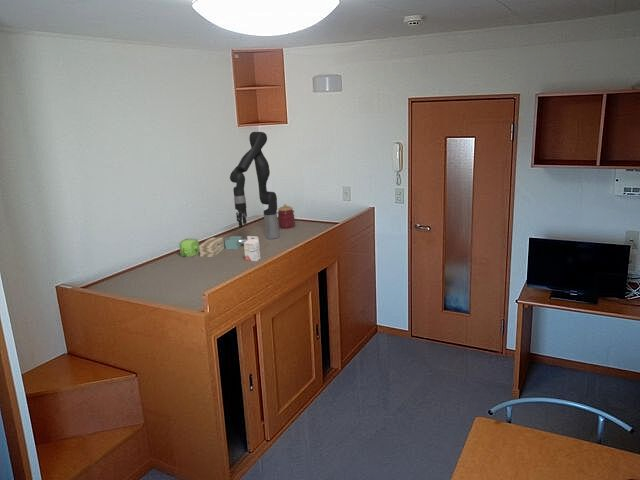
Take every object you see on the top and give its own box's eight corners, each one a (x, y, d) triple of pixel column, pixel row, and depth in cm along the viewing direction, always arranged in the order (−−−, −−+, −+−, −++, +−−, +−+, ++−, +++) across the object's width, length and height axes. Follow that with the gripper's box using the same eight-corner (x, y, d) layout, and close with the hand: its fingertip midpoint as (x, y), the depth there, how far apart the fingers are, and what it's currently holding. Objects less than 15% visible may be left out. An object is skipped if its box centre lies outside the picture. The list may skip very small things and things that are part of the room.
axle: (249, 242, 368) (249, 237, 366) (248, 245, 364) (247, 239, 362) (225, 243, 371) (224, 237, 369) (223, 245, 367) (222, 240, 366)
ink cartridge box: (245, 260, 333) (242, 237, 329) (249, 258, 337) (246, 235, 334) (256, 261, 329) (254, 238, 326) (261, 259, 334) (258, 236, 330)
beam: (224, 248, 365) (223, 237, 363) (213, 256, 346) (212, 245, 344) (211, 248, 367) (210, 237, 365) (200, 256, 348) (199, 245, 346)
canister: (294, 228, 408) (292, 205, 404) (277, 229, 409) (275, 206, 404) (295, 224, 421) (294, 202, 416) (279, 225, 421) (277, 203, 417)
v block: (243, 243, 373) (242, 236, 372) (237, 248, 361) (236, 241, 360) (232, 243, 375) (231, 236, 374) (225, 249, 363) (224, 241, 361)
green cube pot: (191, 259, 346) (189, 245, 344) (177, 258, 349) (175, 244, 346) (203, 250, 363) (202, 237, 360) (189, 250, 365) (188, 236, 363)
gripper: (242, 203, 351) (244, 227, 356) (248, 199, 365) (251, 222, 369) (231, 204, 353) (234, 228, 357) (238, 199, 366) (240, 223, 371)
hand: (242, 225), depth 363 cm, fingers open, 8 cm apart
